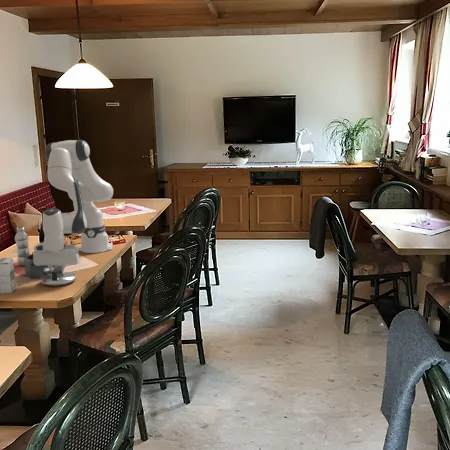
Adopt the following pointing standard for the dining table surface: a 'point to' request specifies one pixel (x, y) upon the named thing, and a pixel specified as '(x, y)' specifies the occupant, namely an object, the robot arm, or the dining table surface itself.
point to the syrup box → (7, 276)
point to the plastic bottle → (22, 245)
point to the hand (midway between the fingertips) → (58, 274)
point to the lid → (58, 277)
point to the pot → (36, 268)
